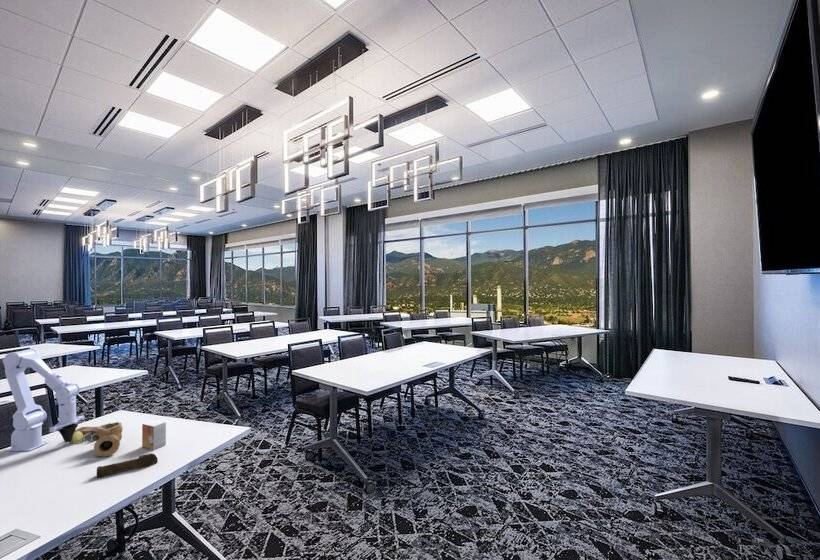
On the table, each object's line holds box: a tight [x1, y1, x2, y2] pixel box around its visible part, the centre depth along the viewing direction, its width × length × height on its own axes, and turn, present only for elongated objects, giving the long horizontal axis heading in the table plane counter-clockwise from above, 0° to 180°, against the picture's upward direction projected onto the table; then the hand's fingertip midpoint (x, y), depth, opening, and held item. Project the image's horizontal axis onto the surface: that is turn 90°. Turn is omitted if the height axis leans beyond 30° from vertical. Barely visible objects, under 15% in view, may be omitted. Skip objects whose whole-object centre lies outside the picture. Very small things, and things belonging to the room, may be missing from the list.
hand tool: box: [96, 453, 158, 479], centre depth 142 cm, size 19×4×5 cm, turn 120°
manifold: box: [74, 426, 100, 443], centre depth 171 cm, size 18×9×4 cm, turn 90°
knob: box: [68, 431, 83, 444], centre depth 166 cm, size 5×5×5 cm
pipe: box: [93, 421, 123, 457], centre depth 159 cm, size 9×16×10 cm, turn 35°
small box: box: [141, 419, 167, 451], centre depth 162 cm, size 8×6×10 cm
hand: (67, 441), depth 163 cm, fingers closed
